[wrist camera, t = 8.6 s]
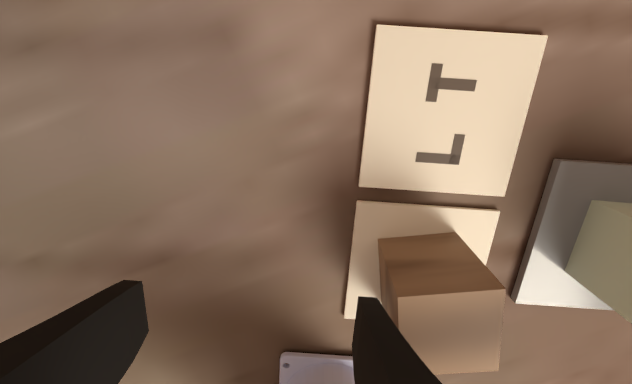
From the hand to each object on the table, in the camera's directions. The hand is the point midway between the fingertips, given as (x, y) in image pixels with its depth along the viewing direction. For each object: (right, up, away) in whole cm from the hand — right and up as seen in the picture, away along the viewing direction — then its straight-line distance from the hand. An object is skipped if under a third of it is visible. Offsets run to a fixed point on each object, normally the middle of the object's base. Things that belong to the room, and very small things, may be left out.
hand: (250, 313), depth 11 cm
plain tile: (+9, -1, +11) cm, 14 cm away
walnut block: (+9, -1, +11) cm, 14 cm away
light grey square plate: (+21, +1, +10) cm, 23 cm away
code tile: (+10, +8, +8) cm, 15 cm away
